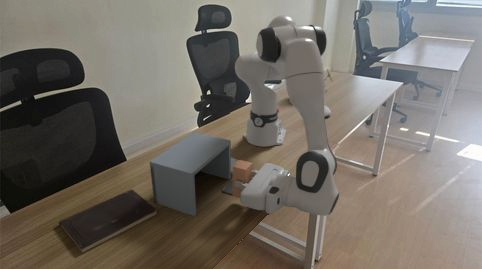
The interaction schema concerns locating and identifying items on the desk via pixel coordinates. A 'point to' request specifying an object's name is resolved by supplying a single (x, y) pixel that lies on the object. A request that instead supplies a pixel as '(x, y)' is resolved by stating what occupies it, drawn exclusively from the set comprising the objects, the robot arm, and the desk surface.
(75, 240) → the hardcover book
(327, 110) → the flower in vase
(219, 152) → the cubby
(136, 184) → the desk surface
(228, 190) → the mat
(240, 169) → the block
